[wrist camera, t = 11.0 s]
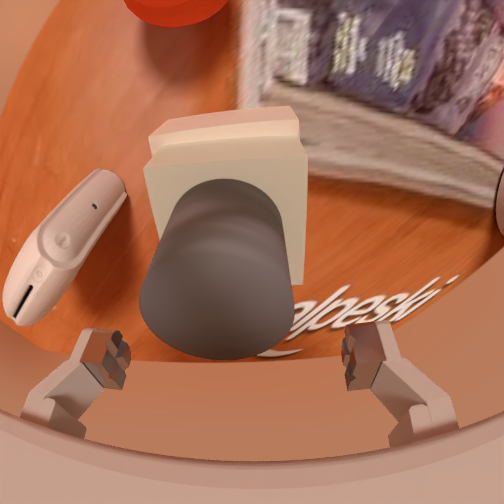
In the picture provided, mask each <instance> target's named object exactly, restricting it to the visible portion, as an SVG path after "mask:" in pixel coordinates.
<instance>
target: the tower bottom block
mask: <svg viewBox="0 0 504 504" xmlns="http://www.w3.org/2000/svg"><path fill="white" fill-rule="evenodd" d="M283 135H297V136H298V138H299V119H298V118H297V116H296V115H295V113H294V112H293V110H292V109H291V107H290V106H278V107H264V108H252V109H242V110H232V111H224V112H216V113H208V114H201V115H194V116H188V117H182V118H176V119H170V120H167V121H166V122H165V123H163V124H162V125H161V126H160V127H159V128H158V129H157V130H155V131H154V132H153V133H152V134H151V135H150V136H149V137H148V139H149V144H150V148H151V153H152V157H153V156H154V155H155V154H156V153H157V152H158V150H159V149H160V148H161V147H162V146H163V145H167V144H175V143H183V142H193V141H202V140H213V139H225V138H239V137H257V136H283ZM299 140H300V138H299Z"/></svg>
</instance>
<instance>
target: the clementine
mask: <svg viewBox="0 0 504 504" xmlns="http://www.w3.org/2000/svg"><path fill="white" fill-rule="evenodd" d="M124 1H125V3H126V5H127V7H128V8H129V9H130V10H131V11H132V12H133V13H134V14H135V15H136V16H137V17H139V18H140V19H142V20H144V21H146V22H148V23H150V24H152V25H157V26H162V27H182V26H187V25H191V24H196V23H198V22H201V21H203V20H205V19H207V18H210V17H211V16H212V15H214V14H215V13H216V12H218V11H219V10H221V9H222V7H223V6H224V5H225V4H226V3H227V2H228V1H229V0H124Z"/></svg>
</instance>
